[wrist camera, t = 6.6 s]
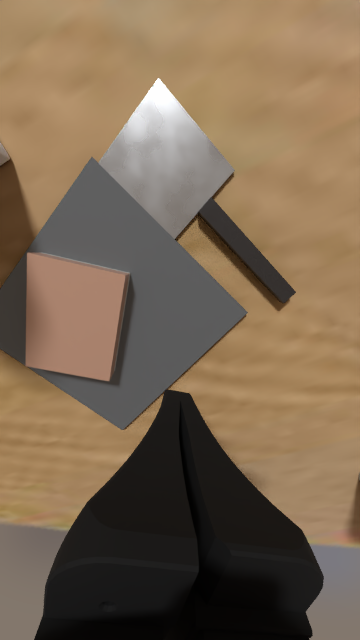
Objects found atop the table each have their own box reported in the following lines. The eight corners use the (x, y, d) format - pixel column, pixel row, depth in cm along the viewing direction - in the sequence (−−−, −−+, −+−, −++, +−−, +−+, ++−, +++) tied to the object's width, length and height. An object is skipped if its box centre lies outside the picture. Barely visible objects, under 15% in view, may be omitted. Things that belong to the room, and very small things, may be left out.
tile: (125, 275, 17) (26, 252, 16) (109, 381, 20) (25, 366, 19) (130, 272, 18) (42, 252, 18) (114, 369, 21) (39, 355, 21)
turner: (313, 268, 19) (321, 268, 18) (256, 321, 21) (260, 324, 20) (158, 81, 15) (157, 68, 14) (99, 164, 16) (94, 158, 15)
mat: (123, 426, 24) (122, 430, 24) (-24, 328, 20) (-29, 329, 20) (245, 311, 20) (247, 312, 20) (94, 159, 16) (91, 156, 16)
